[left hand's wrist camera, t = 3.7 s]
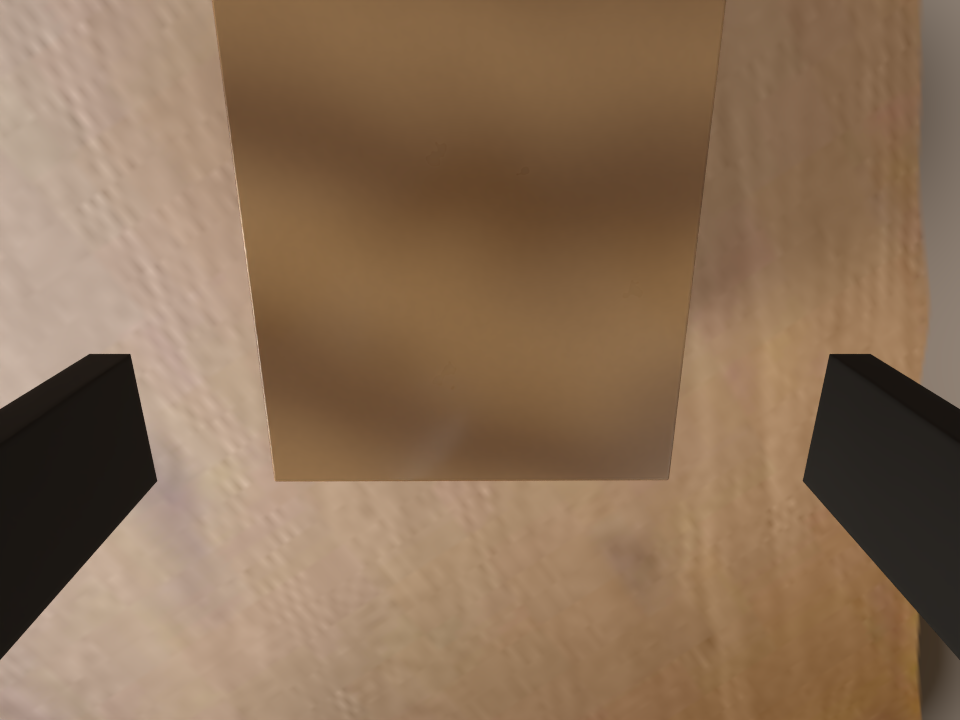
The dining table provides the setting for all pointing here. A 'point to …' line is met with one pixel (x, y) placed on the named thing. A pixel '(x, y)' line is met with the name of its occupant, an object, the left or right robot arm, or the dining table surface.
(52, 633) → the dining table surface
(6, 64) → the dining table surface
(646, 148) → the cabinet
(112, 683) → the dining table surface
